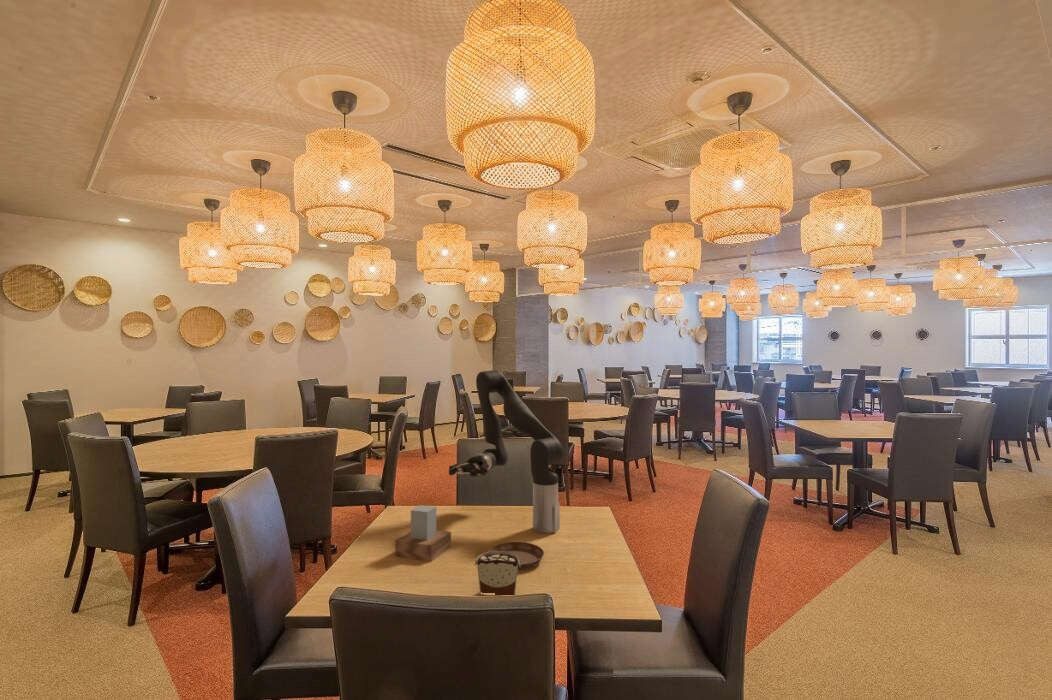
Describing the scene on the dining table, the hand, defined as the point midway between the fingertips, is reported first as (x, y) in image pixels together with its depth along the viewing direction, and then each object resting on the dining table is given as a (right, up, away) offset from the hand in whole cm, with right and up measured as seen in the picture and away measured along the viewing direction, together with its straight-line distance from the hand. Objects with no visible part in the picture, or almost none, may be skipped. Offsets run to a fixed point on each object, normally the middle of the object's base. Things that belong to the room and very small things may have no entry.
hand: (461, 473), depth 192 cm
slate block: (-10, -17, -17) cm, 26 cm away
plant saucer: (+20, -22, -24) cm, 39 cm away
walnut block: (-10, -22, -17) cm, 29 cm away
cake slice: (+16, -22, -45) cm, 53 cm away
